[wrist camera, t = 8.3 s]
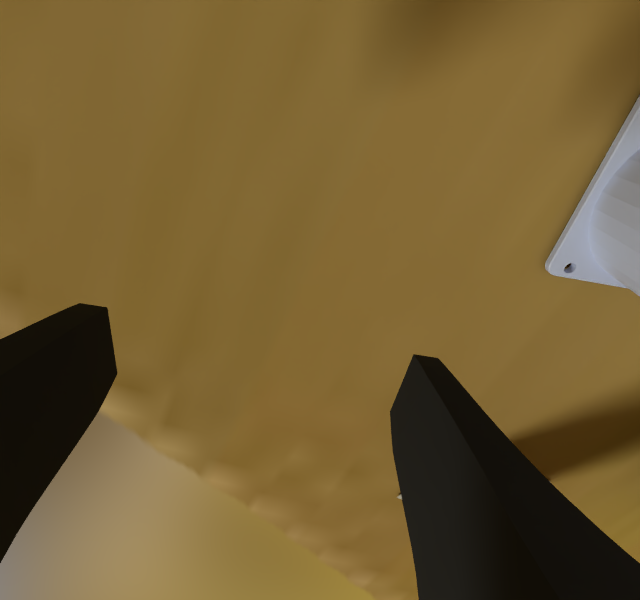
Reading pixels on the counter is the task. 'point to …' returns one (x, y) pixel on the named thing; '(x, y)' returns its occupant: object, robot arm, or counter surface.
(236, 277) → the counter surface
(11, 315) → the counter surface
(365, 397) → the counter surface
